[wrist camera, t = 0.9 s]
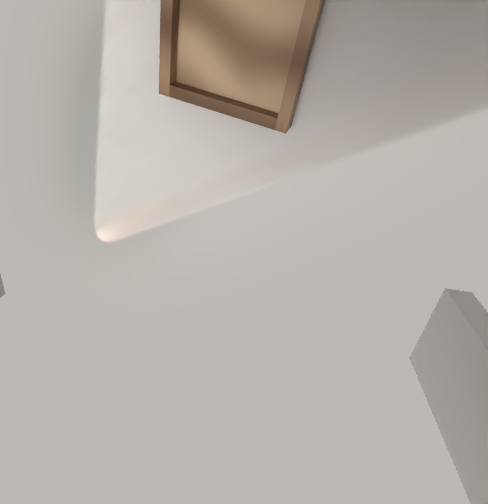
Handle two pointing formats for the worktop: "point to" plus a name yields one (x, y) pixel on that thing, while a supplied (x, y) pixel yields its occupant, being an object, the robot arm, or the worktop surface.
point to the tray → (238, 55)
